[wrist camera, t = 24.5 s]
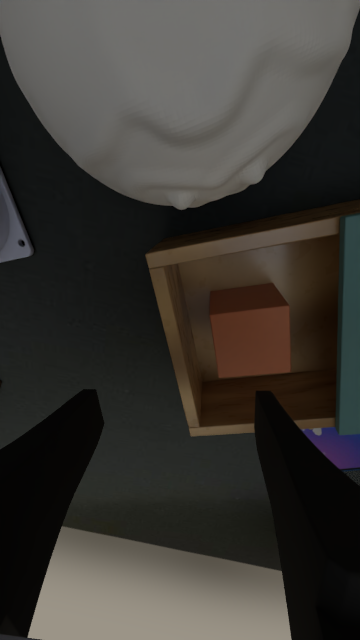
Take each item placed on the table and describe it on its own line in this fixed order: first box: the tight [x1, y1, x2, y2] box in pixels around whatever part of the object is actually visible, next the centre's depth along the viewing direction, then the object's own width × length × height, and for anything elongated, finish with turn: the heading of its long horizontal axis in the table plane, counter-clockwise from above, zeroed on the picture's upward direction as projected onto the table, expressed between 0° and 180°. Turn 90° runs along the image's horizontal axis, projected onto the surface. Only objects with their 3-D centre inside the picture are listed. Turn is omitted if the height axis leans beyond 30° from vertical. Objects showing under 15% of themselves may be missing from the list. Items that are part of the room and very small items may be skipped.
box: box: [145, 199, 360, 436], centre depth 18 cm, size 13×13×6 cm
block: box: [209, 283, 291, 378], centre depth 18 cm, size 4×4×4 cm
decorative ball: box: [0, 0, 360, 210], centre depth 10 cm, size 12×12×12 cm
